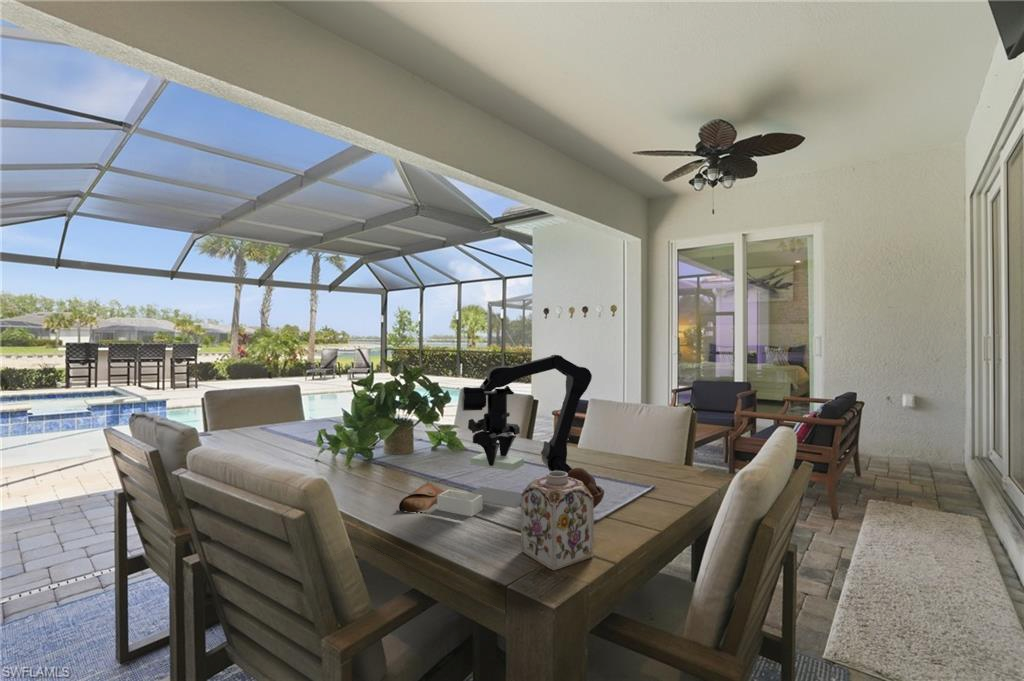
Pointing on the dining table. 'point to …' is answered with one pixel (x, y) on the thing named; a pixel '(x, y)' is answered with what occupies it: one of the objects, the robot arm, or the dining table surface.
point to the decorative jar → (557, 520)
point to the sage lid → (498, 462)
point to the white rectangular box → (460, 502)
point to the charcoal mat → (499, 496)
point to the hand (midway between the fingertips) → (497, 462)
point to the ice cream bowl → (588, 484)
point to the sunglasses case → (421, 499)
